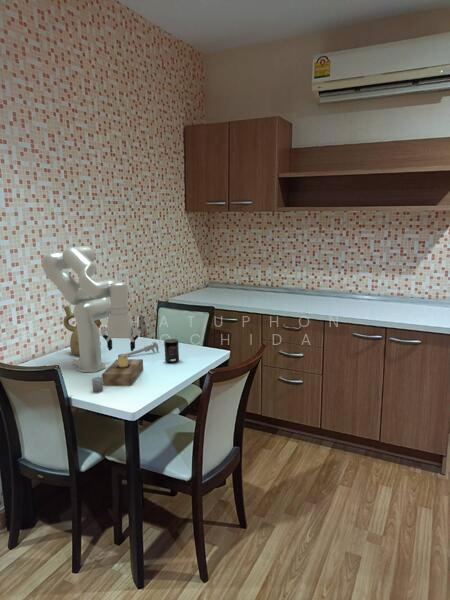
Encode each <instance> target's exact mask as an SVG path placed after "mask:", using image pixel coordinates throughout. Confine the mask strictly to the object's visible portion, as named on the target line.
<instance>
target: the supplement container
mask: <svg viewBox="0 0 450 600" xmlns="http://www.w3.org/2000/svg"><path fill="white" fill-rule="evenodd" d="M163 344H164V345H163V346H164V361H165V363H166V364H170V365H171V364H176V363H177V364H178V363H179V361H180V352H179V349H180V346H179V339H177V338H168V339H165V340H164V341H163Z"/></svg>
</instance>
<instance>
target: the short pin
mask: <svg viewBox="0 0 450 600" xmlns="http://www.w3.org/2000/svg"><path fill="white" fill-rule="evenodd" d="M91 386H92V393H95V394H96V393H97V394H99V393H102V392H104V385H103V379H102V377H98V376H97V377H94V378H93V377H92V379H91Z"/></svg>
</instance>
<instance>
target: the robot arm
mask: <svg viewBox="0 0 450 600" xmlns="http://www.w3.org/2000/svg"><path fill="white" fill-rule="evenodd" d="M95 259H96V255H95V252H94V250H93V248H92V247H90V246H88V245H81V246H80V245H79V246H70V247H67V248H66V249H64V250H62V251H55V252H54V251H53V252H49V253H47V254H44V256H43V258H42V262H41V264H42V265H41V266H42V270H43V272H44V273H45V276H46V277H47V278H48V279H49V281H51V282H52V284H54V286H55V287H56V288H57V289H58V291H59V292H60V293H61V294H62V296H63V297H64V299H65V300H66V301H67V303H69V305H72V306H74V307H73V313H74V317H75V318H74V319H75V322H76V323H75V325H76V326H77V331H78V341H79V354H80V355H79V359H77V358H75V359H72V360H71V364H72V366H73V365H74V366H76V365H77V367H76V370H77V371H78V372H80V373H93V372H94V373H95V372H99V371H102V370H104V369H105V368H106V363H104V362H102V360H103V359H102V350H101V345H100V342H101V338H100V337H101V336H102V338H103V339H104V340H105V341H106V343H107V344H106V345H107V349H108V351H111V350H112V349H113V340H112V339H129V340H130V343H129V344H130V352H132V351H135V350H134V349H136V340H137V339H138V338H139V337H140V335H141V330H140V329H138V328H135V327H133V320H132V316H131V313H130V312H129V311H130V310H129V288H128V284H127V282H125V281H118V280H116V279H105V280H98V281H94V280H92V279H91V278H92V276H93V275H94V274H95V272H96V270H97V266H96V263H94V262H95ZM68 269H69V270H70V269H72V271H73V272H74V273H76V274H77V275H78V281H76V279H75V278H74V277H73V275H71V274H70V273H68V272H67V271H65V270H68ZM108 298H109V299H108ZM106 318H107V327H105V328H103V329H101V330H100V328H98V327H97V325H96V324H95V322H94V321H95V320H99V319H100V320H103V319H106ZM106 333H107V334H106ZM134 333H136V334H135V336H134ZM100 334H101V335H100Z"/></svg>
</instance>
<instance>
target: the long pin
mask: <svg viewBox="0 0 450 600" xmlns="http://www.w3.org/2000/svg"><path fill="white" fill-rule="evenodd" d="M128 357H129V356H127V354H126V353H121V354H118V355H117V359H118V364H119V368H128V359H129V358H128Z"/></svg>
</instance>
